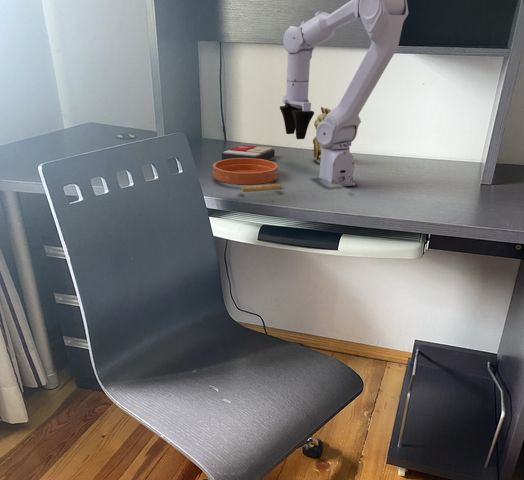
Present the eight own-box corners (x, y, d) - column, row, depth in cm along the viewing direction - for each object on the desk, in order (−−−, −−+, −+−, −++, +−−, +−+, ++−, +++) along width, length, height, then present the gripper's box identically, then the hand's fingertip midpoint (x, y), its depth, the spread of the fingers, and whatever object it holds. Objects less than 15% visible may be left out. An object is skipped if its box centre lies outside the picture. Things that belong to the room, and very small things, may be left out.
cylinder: (277, 191, 134) (278, 182, 133) (280, 193, 132) (281, 184, 131) (240, 194, 131) (240, 185, 130) (243, 196, 129) (243, 187, 128)
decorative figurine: (308, 158, 165) (311, 105, 157) (333, 157, 167) (337, 104, 159) (319, 165, 157) (323, 110, 149) (345, 164, 159) (350, 109, 151)
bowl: (286, 186, 138) (287, 170, 135) (223, 191, 133) (222, 175, 131) (265, 171, 151) (265, 156, 149) (207, 175, 146) (206, 159, 144)
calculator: (275, 146, 162) (257, 153, 149) (274, 161, 164) (256, 170, 151) (241, 143, 165) (221, 150, 153) (241, 158, 167) (221, 166, 155)
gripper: (273, 78, 144) (272, 132, 151) (293, 84, 132) (291, 142, 139) (298, 77, 146) (295, 131, 153) (319, 83, 134) (316, 140, 141)
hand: (295, 136), depth 146 cm, fingers open, 7 cm apart
